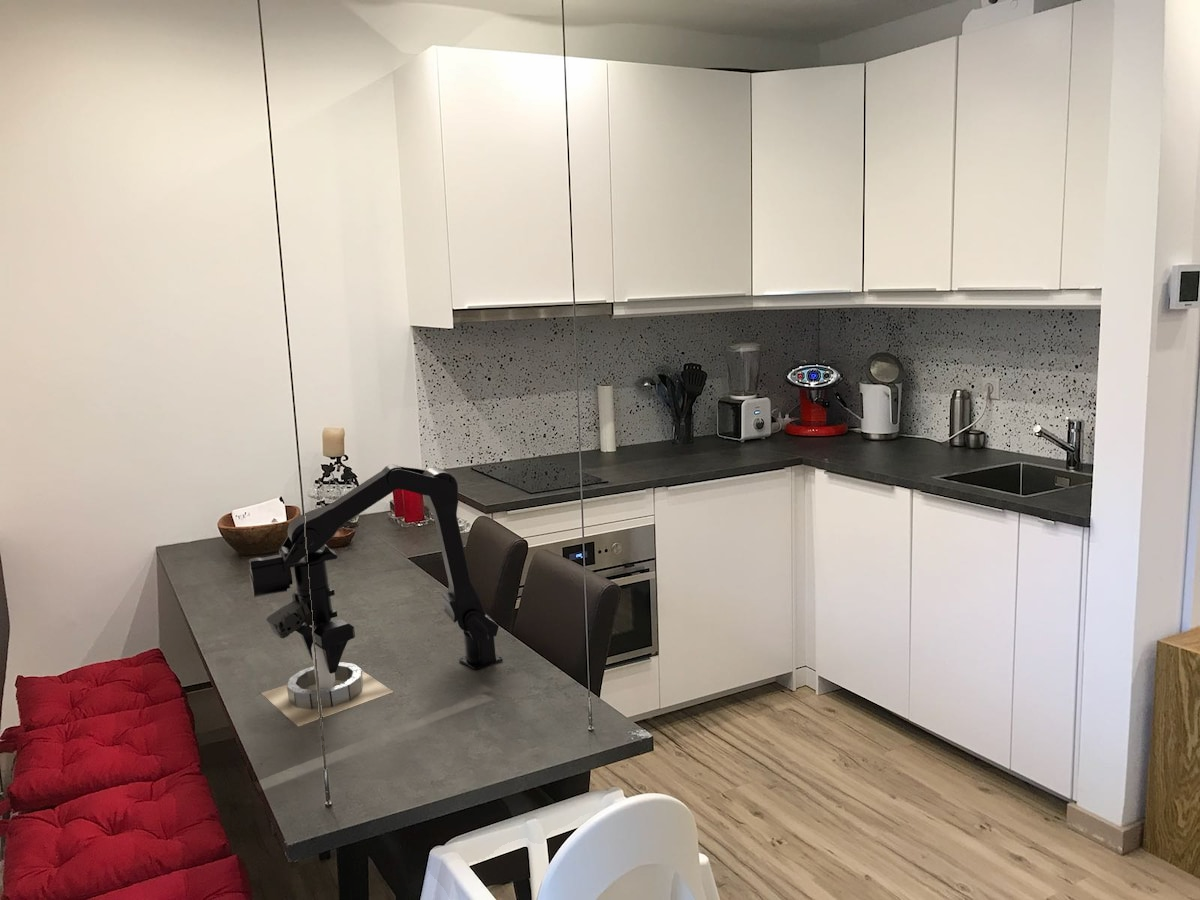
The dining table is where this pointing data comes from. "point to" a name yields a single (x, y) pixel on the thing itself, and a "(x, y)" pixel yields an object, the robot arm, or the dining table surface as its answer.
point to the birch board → (304, 716)
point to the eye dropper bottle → (322, 669)
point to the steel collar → (328, 696)
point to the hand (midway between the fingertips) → (323, 666)
